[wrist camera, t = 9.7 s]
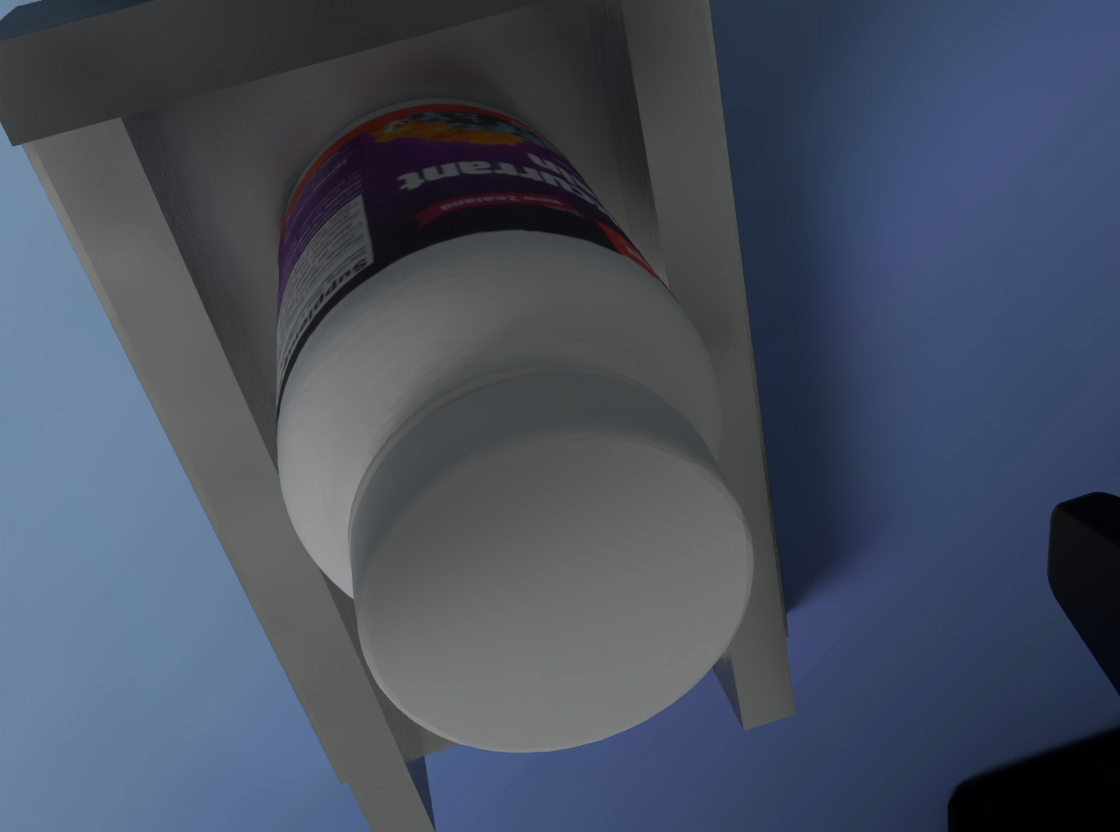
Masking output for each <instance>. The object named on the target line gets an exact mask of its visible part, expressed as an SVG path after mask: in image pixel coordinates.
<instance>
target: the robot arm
mask: <svg viewBox="0 0 1120 832" xmlns="http://www.w3.org/2000/svg"><path fill="white" fill-rule="evenodd" d="M1047 574H1048V581H1049V585H1050V588H1051V590H1052V592H1053V595H1054V597H1055V598H1056V600H1057V602H1058V603H1059V605H1060V606H1061V608H1062V609H1063V611H1064V612H1065V614H1066V615H1067V617H1068V618H1069V620H1070V622H1071V623H1072V625H1073V626H1074V628H1075V629H1076V631H1077V632H1078V634H1079V635H1080V637H1081V638H1082V640H1083V641H1084V643H1085V644H1086V646H1087V647H1088V649H1089V650H1090V652H1091V653H1092V655H1093V656H1094V658H1095V659H1096V661H1097V662H1098V664H1099V665H1100V667H1101V668H1102V670H1103V671H1104V673H1105V674H1106V676H1107V678H1108V679H1109V681H1110V682H1111V684H1112V685H1113V687H1114V688H1115V690H1116V691H1117V693H1118V694H1119V696H1120V497H1118V496H1115V495H1112V494H1108V493H1105V492H1092V493H1089V494H1086V495H1083V496H1080V497H1077V498H1073V499H1070V500H1067V501H1064V502H1061V503H1059V504H1058V505H1056V506H1055V508H1054V510H1053V511H1052V513H1051V519H1050V534H1049V550H1048V566H1047ZM948 832H1120V735H1119V736H1117V737H1114V738H1111V739H1108V740H1105V741H1102V742H1099V743H1096V744H1094V745H1091V746H1088V747H1085V748H1082V749H1079V750H1076V751H1073V752H1071V753H1068V754H1065V755H1062V756H1059V757H1056V758H1053V759H1050V760H1047V761H1045V762H1042V763H1039V764H1036V765H1033V766H1030V767H1027V768H1024V769H1022V770H1019V771H1016V772H1013V773H1010V774H1007V775H1004V776H1001V777H999V778H996V779H993V780H990V781H987V782H984V783H981V784H978V785H976V786H973V787H970V788H967V789H964V790H962V791H960V792H958V793H956V794H955V795H954V796H953V797H952V798H951V799H950V801H949V803H948Z"/></svg>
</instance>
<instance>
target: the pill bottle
mask: <svg viewBox="0 0 1120 832" xmlns="http://www.w3.org/2000/svg"><path fill="white" fill-rule="evenodd" d="M277 287H278V289H277V399H276V409H277V410H276V437H277V441H276V447H277V464H278V469H279V478H280V484H281V490H282V495H283V498H284V501H285V505H286V508H287V511H288V514H289V517H290V519H291V522H292V524H293V526H294V529H295V531H296V533H297V535H298V537H299V539H300V540H301V542H302V544H303V545H304V547H305V549H306V550H307V552H308V553H309V555H310V556H311V557H312V559H313V560H314V561H315V563H316V564H317V565H318V566H319V568H320V569H321V570H322V571H323V572H324V573H325V574H326V575H327V576H328V577H329V578H330V580H331V581H332V582H333V583H335V584H336V585H337V586H338V587H339V588H340V589H341V590H342V591H344V592H345V593H346V594H347V595H348V596H350V597H351V598H353V599H354V604H355V611H356V618H357V627H358V635H359V639H360V644H361V648H362V652H363V655H364V657H365V660H366V662H367V665H368V667H369V669H370V671H371V673H372V675H373V677H374V679H375V681H376V682H377V684H378V685H379V687H380V688H381V690H382V691H383V692H384V693H385V694H386V696H387V697H388V698H389V699H390V700H391V701H392V702H393V704H394V705H395V706H396V707H397V708H398V709H399V710H401V711H402V712H403V713H404V714H405V715H407V716H408V717H409V718H410V719H412V720H413V721H414V722H415V723H417V724H419V725H420V726H422V727H424V728H425V729H427V730H429V731H431V732H433V733H435V734H437V735H438V736H441V737H443V738H445V739H448V740H450V741H453V742H456V743H459V744H462V745H466V746H471V747H476V748H480V749H484V750H491V751H498V752H521V753H526V752H547V751H554V750H560V749H566V748H572V747H577V746H580V745H584V744H588V743H592V742H595V741H599V740H602V739H605V738H607V737H610V736H612V735H615V734H617V733H620V732H622V731H625V730H627V729H629V728H631V727H633V726H636V725H638V724H640V723H642V722H644V721H646V720H648V719H649V718H651V717H652V716H654V715H655V714H657V713H659V712H660V711H662V710H663V709H665V708H666V707H668V706H669V705H671V704H673V703H674V702H675V701H676V700H678V699H679V698H680V697H681V696H683V695H684V694H685V693H686V692H688V691H689V690H690V689H691V688H692V687H693V686H695V685H696V684H697V683H698V682H699V681H700V680H701V679H702V678H703V676H704V675H705V674H706V673H707V672H708V671H709V670H710V668H711V667H712V666H713V665H714V664H715V663H716V662H717V661H718V659H719V658H720V657H721V655H722V654H723V653H724V651H725V650H726V648H727V647H728V646H729V644H730V642H731V641H732V639H733V637H734V636H735V634H736V632H737V630H738V628H739V626H740V624H741V621H742V619H743V617H744V614H745V612H746V609H747V607H748V603H749V600H750V597H751V592H752V586H753V580H754V570H755V553H754V544H753V539H752V533H751V529H750V525H749V522H748V519H747V516H746V513H745V511H744V509H743V507H742V504H741V502H740V500H739V498H738V497H737V495H736V493H735V492H734V490H733V489H732V487H731V485H730V484H729V482H728V481H727V479H726V477H725V476H724V474H723V473H722V471H721V470H720V468H719V466H718V461H719V456H720V449H721V435H722V408H721V398H720V391H719V386H718V383H717V379H716V373H715V370H714V367H713V364H712V361H711V358H710V355H709V353H708V351H707V349H706V347H705V344H704V342H703V340H702V338H701V337H700V335H699V333H698V331H697V330H696V328H695V326H694V325H693V323H692V321H691V320H690V318H689V316H688V314H687V313H686V312H685V310H684V309H683V307H682V306H681V304H680V303H679V302H678V300H677V299H676V297H675V296H674V295H673V294H672V293H671V291H670V290H669V289H668V288H667V286H666V285H665V283H664V282H663V281H662V280H661V278H660V277H659V276H658V275H657V274H656V272H655V271H654V270H653V268H652V267H651V266H650V265H649V263H648V262H647V261H646V259H645V258H644V257H643V256H642V254H641V253H640V252H639V251H638V249H637V248H636V247H635V245H634V244H633V243H632V242H631V240H630V239H629V238H628V236H627V235H626V234H625V233H624V231H623V230H622V229H621V227H620V225H619V224H618V223H617V222H616V221H615V219H614V218H613V217H612V216H611V214H610V213H609V211H608V210H607V209H606V208H605V207H604V205H603V204H602V203H601V201H600V200H599V199H598V197H597V196H596V195H595V194H594V192H593V191H592V190H591V188H590V187H589V186H588V185H587V183H586V182H585V181H584V179H583V178H582V176H581V175H580V174H579V173H578V171H577V170H576V169H575V168H574V166H573V165H572V164H571V163H570V162H569V160H568V159H567V158H566V157H565V156H564V155H563V154H562V153H561V152H560V151H559V150H558V149H557V148H556V147H555V146H554V145H553V144H552V143H551V142H550V141H549V140H548V139H547V138H545V137H544V136H543V135H542V134H540V133H539V132H538V131H537V130H536V129H534V128H533V127H531V126H530V125H528V124H527V123H525V122H524V121H522V120H520V119H519V118H517V117H514V116H512V115H510V114H508V113H506V112H504V111H502V110H499V109H496V108H493V107H489V106H486V105H483V104H479V103H475V102H470V101H464V100H456V99H446V98H429V99H419V100H412V101H407V102H402V103H398V104H395V105H391V106H388V107H385V108H382V109H380V110H377V111H375V112H372V113H370V114H368V115H366V116H364V117H362V118H360V119H358V120H357V121H355V122H353V123H351V124H350V125H348V126H347V127H346V128H344V129H343V130H341V131H340V132H339V133H338V134H336V135H335V136H334V137H333V138H332V139H330V140H329V141H328V142H327V143H326V144H325V145H324V146H323V147H322V148H321V149H320V150H319V152H318V153H317V154H316V155H315V157H314V158H313V159H312V160H311V162H310V163H309V164H308V165H307V167H306V168H305V170H304V171H303V173H302V175H301V176H300V178H299V179H298V181H297V183H296V185H295V187H294V189H293V191H292V194H291V196H290V198H289V201H288V204H287V207H286V210H285V213H284V218H283V222H282V227H281V234H280V241H279V250H278V281H277Z"/></svg>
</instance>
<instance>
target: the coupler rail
mask: <svg viewBox="0 0 1120 832" xmlns="http://www.w3.org/2000/svg"><path fill="white" fill-rule="evenodd" d="M429 98H446V99H456V100H464V101H470V102H475V103H479V104H483V105H486V106H489V107H493V108H496V109H499V110H502V111H504V112H506V113H508V114H510V115H512V116H514V117H517V118H519V119H520V120H522V121H524V122H525V123H527V124H528V125H530V126H531V127H533V128H534V129H536V130H537V131H538V132H539V133H540V134H542V135H543V136H544V137H545V138H547V139H548V140H549V141H550V142H551V143H552V144H553V145H554V146H555V147H556V148H557V149H558V150H559V151H560V152H561V153H562V154H563V155H564V156H565V157H566V158H567V159H568V160H569V162H570V163H571V164H572V165H573V166H574V168H575V169H576V170H577V171H578V173H579V174H580V175H581V176H582V178H583V179H584V181H585V182H586V183H587V185H588V186H589V187H590V188H591V190H592V191H593V192H594V194H595V195H596V196H597V197H598V199H599V200H600V201H601V203H602V204H603V205H604V207H605V208H606V209H607V210H608V211H609V213H610V214H611V216H612V217H613V218H614V219H615V221H616V222H617V223H618V224H619V225H620V227H621V229H622V230H623V231H624V233H625V234H626V235H627V236H628V238H629V239H630V240H631V242H632V243H633V244H634V245H635V247H636V248H637V249H638V251H639V252H640V253H641V254H642V256H643V257H644V258H645V259H646V261H647V262H648V263H649V265H650V266H651V267H652V268H653V270H654V271H655V272H656V274H657V275H658V276H659V277H660V278H661V280H662V281H663V282H664V283H665V285H666V286H667V288H668V289H669V290H670V291H671V293H672V294H673V295H674V296H675V297H676V299H677V300H678V302H679V303H680V304H681V306H682V307H683V309H684V310H685V312H686V313H687V314H688V316H689V318H690V320H691V321H692V323H693V325H694V326H695V328H696V330H697V331H698V333H699V335H700V337H701V338H702V340H703V342H704V344H705V347H706V349H707V351H708V353H709V355H710V358H711V361H712V364H713V367H714V370H715V373H716V379H717V383H718V386H719V391H720V398H721V408H722V435H721V449H720V456H719V461H718V466H719V468H720V470H721V471H722V473H723V474H724V476H725V477H726V479H727V481H728V482H729V484H730V485H731V487H732V489H733V490H734V492H735V493H736V495H737V497H738V498H739V500H740V502H741V504H742V507H743V509H744V511H745V513H746V516H747V519H748V522H749V525H750V529H751V533H752V539H753V544H754V553H755V570H754V580H753V586H752V592H751V597H750V600H749V603H748V607H747V609H746V612H745V614H744V617H743V619H742V621H741V624H740V626H739V628H738V630H737V632H736V634H735V636H734V637H733V639H732V641H731V642H730V644H729V646H728V647H727V648H726V650H725V651H724V653H723V654H722V655H721V657H720V658H719V659H718V661H717V662H716V663H715V664H714V665H713V666H712V668H713V670H714V672H715V674H716V676H717V678H718V680H719V682H720V684H721V686H722V688H723V690H724V692H725V694H726V696H727V698H728V700H729V702H730V704H731V706H732V708H733V710H734V712H735V714H736V716H737V718H738V720H739V723H740V725H741V727H742V729H743V731H746V730H749V729H752V728H755V727H758V726H761V725H764V724H767V723H770V722H773V721H776V720H779V719H782V718H785V717H788V716H790V715H793V714H795V710H794V702H793V694H792V687H791V679H790V671H789V663H788V655H787V647H786V640H785V637H787V636H789V635H788V627H787V619H786V611H785V603H784V595H783V587H782V579H781V571H780V563H779V555H778V547H777V539H776V531H775V523H774V515H773V507H772V499H771V491H770V483H769V475H768V467H767V459H766V451H765V443H764V435H763V427H762V419H761V411H760V403H759V395H758V387H757V379H756V371H755V363H754V355H753V347H752V340H751V332H750V324H749V316H748V308H747V300H746V292H745V284H744V276H743V268H742V260H741V252H740V244H739V236H738V228H737V220H736V212H735V204H734V196H733V188H732V180H731V172H730V164H729V156H728V148H727V140H726V132H725V124H724V116H723V108H722V100H721V92H720V84H719V76H718V68H717V60H716V52H715V44H714V36H713V28H712V20H711V12H710V4H709V0H41V1H37V2H33V3H29V4H26V5H22V6H18V7H15V8H14V9H13V10H12V11H11V12H9V13H8V14H7V15H6V16H5V17H4V18H2V19H1V20H0V122H1V124H2V126H3V128H4V130H5V132H6V134H7V136H8V138H9V140H10V142H11V144H12V146H16V145H20V144H21V145H22V147H23V149H24V151H25V153H26V155H27V157H28V159H29V161H30V163H31V165H32V167H33V169H34V171H35V173H36V175H37V177H38V179H39V181H40V183H41V185H42V187H43V189H44V191H45V193H46V195H47V197H48V199H49V201H50V203H51V205H52V207H53V209H54V211H55V213H56V215H57V217H58V219H59V221H60V223H61V225H62V227H63V229H64V231H65V233H66V235H67V237H68V239H69V241H70V243H71V245H72V247H73V249H74V251H75V253H76V255H77V257H78V259H79V261H80V263H81V265H82V267H83V269H84V271H85V273H86V275H87V277H88V279H89V281H90V283H91V285H92V287H93V289H94V291H95V293H96V295H97V297H98V299H99V301H100V303H101V305H102V307H103V309H104V311H105V313H106V315H107V317H108V319H109V321H110V323H111V325H112V327H113V329H114V331H115V333H116V335H117V337H118V339H119V341H120V343H121V345H122V347H123V349H124V351H125V353H126V355H127V357H128V359H129V361H130V363H131V365H132V367H133V369H134V371H135V373H136V375H137V377H138V379H139V381H140V383H141V385H142V387H143V389H144V391H145V393H146V395H147V397H148V399H149V401H150V403H151V405H152V407H153V409H154V411H155V413H156V415H157V417H158V419H159V421H160V423H161V425H162V427H163V429H164V431H165V433H166V435H167V437H168V439H169V441H170V443H171V445H172V447H173V449H174V451H175V453H176V455H177V457H178V459H179V461H180V463H181V465H182V467H183V469H184V471H185V473H186V475H187V477H188V479H189V481H190V483H191V485H192V487H193V489H194V491H195V493H196V495H197V497H198V499H199V501H200V503H201V505H202V507H203V509H204V511H205V513H206V515H207V517H208V519H209V521H210V523H211V525H212V527H213V529H214V531H215V533H216V535H217V537H218V539H219V541H220V543H221V545H222V547H223V549H224V551H225V553H226V555H227V557H228V559H229V561H230V563H231V565H232V567H233V569H234V571H235V573H236V575H237V577H238V579H239V582H240V584H241V586H242V588H243V590H244V592H245V594H246V596H247V598H248V600H249V602H250V604H251V606H252V608H253V610H254V612H255V614H256V616H257V618H258V620H259V622H260V624H261V626H262V628H263V630H264V632H265V634H266V636H267V638H268V640H269V642H270V644H271V646H272V648H273V650H274V652H275V654H276V656H277V658H278V660H279V662H280V664H281V666H282V668H283V670H284V672H285V674H286V676H287V678H288V680H289V682H290V684H291V686H292V688H293V690H294V692H295V694H296V696H297V698H298V700H299V702H300V704H301V706H302V708H303V710H304V712H305V714H306V716H307V718H308V720H309V722H310V724H311V726H312V728H313V730H314V732H315V734H316V736H317V738H318V740H319V742H320V744H321V746H322V748H323V750H324V752H325V754H326V756H327V758H328V760H329V762H330V764H331V766H332V768H333V770H334V772H335V774H336V776H337V778H338V780H339V782H340V784H341V783H344V782H347V783H348V785H349V787H350V789H351V791H352V793H353V795H354V797H355V799H356V801H357V803H358V805H359V807H360V809H361V811H362V813H363V815H364V817H365V819H366V821H367V823H368V825H369V827H370V829H371V831H372V832H436V829H435V823H434V816H433V809H432V803H431V796H430V790H429V783H428V777H427V770H426V764H425V757H424V756H426V755H429V754H432V753H435V752H438V751H441V750H444V749H447V748H450V747H453V746H456V745H459V743H456V742H453V741H450V740H448V739H445V738H443V737H441V736H438V735H437V734H435V733H433V732H431V731H429V730H427V729H425V728H424V727H422V726H420V725H419V724H417V723H415V722H414V721H413V720H412V719H410V718H409V717H408V716H407V715H405V714H404V713H403V712H402V711H401V710H399V709H398V708H397V707H396V706H395V705H394V704H393V702H392V701H391V700H390V699H389V698H388V697H387V696H386V694H385V693H384V692H383V691H382V690H381V688H380V687H379V685H378V684H377V682H376V681H375V679H374V677H373V675H372V673H371V671H370V669H369V667H368V665H367V662H366V660H365V657H364V655H363V652H362V648H361V644H360V639H359V635H358V627H357V618H356V611H355V604H354V599H353V598H351V597H350V596H348V595H347V594H346V593H345V592H344V591H342V590H341V589H340V588H339V587H338V586H337V585H336V584H335V583H333V582H332V581H331V580H330V578H329V577H328V576H327V575H326V574H325V573H324V572H323V571H322V570H321V569H320V568H319V566H318V565H317V564H316V563H315V561H314V560H313V559H312V557H311V556H310V555H309V553H308V552H307V550H306V549H305V547H304V545H303V544H302V542H301V540H300V539H299V537H298V535H297V533H296V531H295V529H294V526H293V524H292V522H291V519H290V517H289V514H288V511H287V508H286V505H285V501H284V498H283V495H282V490H281V484H280V478H279V469H278V464H277V447H276V441H277V437H276V410H277V409H276V399H277V289H278V287H277V281H278V250H279V241H280V234H281V227H282V222H283V218H284V213H285V210H286V207H287V204H288V201H289V198H290V196H291V194H292V191H293V189H294V187H295V185H296V183H297V181H298V179H299V178H300V176H301V175H302V173H303V171H304V170H305V168H306V167H307V165H308V164H309V163H310V162H311V160H312V159H313V158H314V157H315V155H316V154H317V153H318V152H319V150H320V149H321V148H322V147H323V146H324V145H325V144H326V143H327V142H328V141H329V140H330V139H332V138H333V137H334V136H335V135H336V134H338V133H339V132H340V131H341V130H343V129H344V128H346V127H347V126H348V125H350V124H351V123H353V122H355V121H357V120H358V119H360V118H362V117H364V116H366V115H368V114H370V113H372V112H375V111H377V110H380V109H382V108H385V107H388V106H391V105H395V104H398V103H402V102H407V101H412V100H419V99H429Z"/></svg>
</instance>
